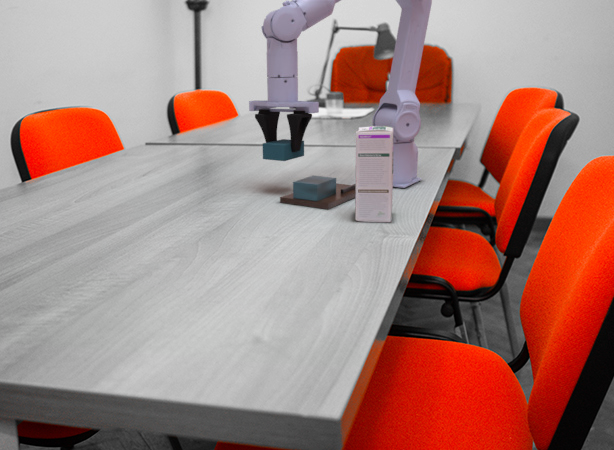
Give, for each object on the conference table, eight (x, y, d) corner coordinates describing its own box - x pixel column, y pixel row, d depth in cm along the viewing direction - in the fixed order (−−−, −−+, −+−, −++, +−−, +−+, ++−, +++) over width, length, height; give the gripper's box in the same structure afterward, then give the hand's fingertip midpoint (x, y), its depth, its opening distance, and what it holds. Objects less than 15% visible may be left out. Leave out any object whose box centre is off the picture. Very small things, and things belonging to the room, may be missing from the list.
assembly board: (323, 186, 117) (323, 167, 116) (368, 192, 111) (368, 171, 110) (280, 202, 104) (279, 181, 103) (328, 209, 99) (328, 186, 97)
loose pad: (283, 154, 114) (282, 139, 114) (304, 155, 112) (304, 140, 111) (262, 159, 109) (262, 143, 108) (284, 161, 106) (284, 145, 105)
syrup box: (391, 222, 90) (395, 129, 86) (353, 221, 91) (355, 129, 87) (391, 213, 95) (395, 125, 91) (355, 212, 96) (357, 125, 92)
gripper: (238, 78, 107) (241, 150, 111) (304, 78, 99) (304, 155, 103) (260, 77, 113) (262, 145, 116) (324, 76, 105) (324, 150, 108)
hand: (283, 150), depth 110 cm, fingers closed on loose pad, 5 cm apart
